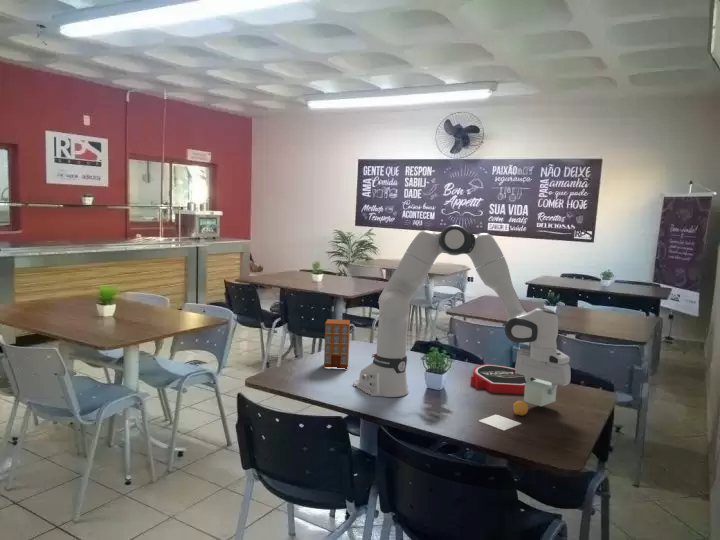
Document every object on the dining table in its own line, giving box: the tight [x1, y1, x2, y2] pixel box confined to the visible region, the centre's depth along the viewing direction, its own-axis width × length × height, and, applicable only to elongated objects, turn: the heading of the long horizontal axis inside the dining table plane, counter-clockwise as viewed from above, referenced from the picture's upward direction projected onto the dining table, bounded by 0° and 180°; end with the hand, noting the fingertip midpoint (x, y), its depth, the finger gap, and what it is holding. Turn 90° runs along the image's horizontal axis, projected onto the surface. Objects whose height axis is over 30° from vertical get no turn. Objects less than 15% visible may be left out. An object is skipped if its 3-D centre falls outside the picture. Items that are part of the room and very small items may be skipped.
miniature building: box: [323, 318, 351, 370], centre depth 242 cm, size 10×9×20 cm
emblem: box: [470, 363, 536, 395], centre depth 231 cm, size 30×4×30 cm
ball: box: [512, 400, 529, 416], centre depth 193 cm, size 5×5×5 cm
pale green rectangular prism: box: [523, 379, 557, 407], centre depth 201 cm, size 7×10×7 cm
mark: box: [478, 414, 522, 432], centre depth 186 cm, size 10×10×1 cm
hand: (540, 391), depth 201 cm, fingers closed on pale green rectangular prism, 7 cm apart
